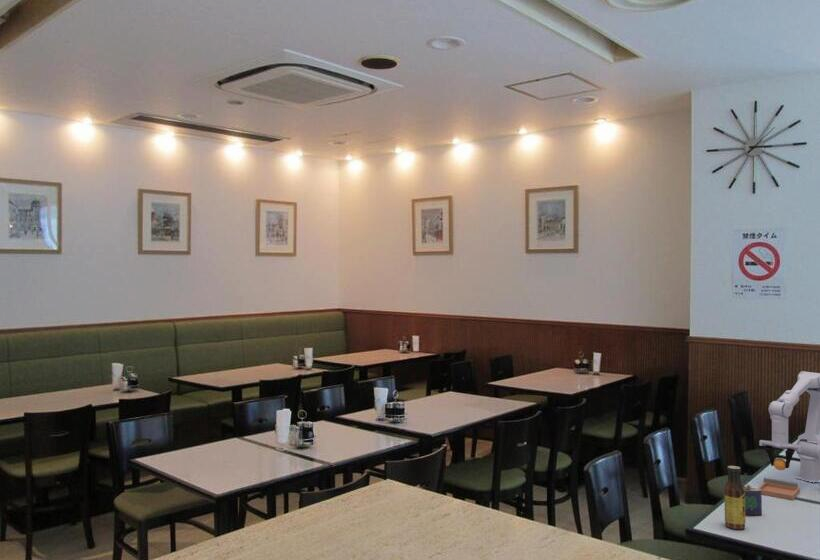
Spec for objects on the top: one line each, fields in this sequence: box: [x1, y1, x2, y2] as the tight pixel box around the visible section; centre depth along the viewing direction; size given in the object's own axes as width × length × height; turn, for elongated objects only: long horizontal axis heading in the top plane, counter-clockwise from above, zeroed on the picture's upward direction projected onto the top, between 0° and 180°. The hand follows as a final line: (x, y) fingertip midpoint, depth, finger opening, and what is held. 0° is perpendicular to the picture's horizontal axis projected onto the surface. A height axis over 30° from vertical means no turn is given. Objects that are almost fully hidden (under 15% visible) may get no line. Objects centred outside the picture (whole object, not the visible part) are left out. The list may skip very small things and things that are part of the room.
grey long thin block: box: [763, 477, 799, 488], centre depth 263 cm, size 1×12×3 cm, turn 49°
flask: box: [743, 483, 763, 517], centre depth 234 cm, size 9×3×11 cm, turn 88°
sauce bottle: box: [723, 465, 746, 530], centre depth 223 cm, size 6×6×20 cm
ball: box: [773, 457, 787, 471], centre depth 263 cm, size 5×5×5 cm
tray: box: [757, 481, 801, 501], centre depth 257 cm, size 12×12×2 cm
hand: (780, 466), depth 263 cm, fingers closed on ball, 5 cm apart
